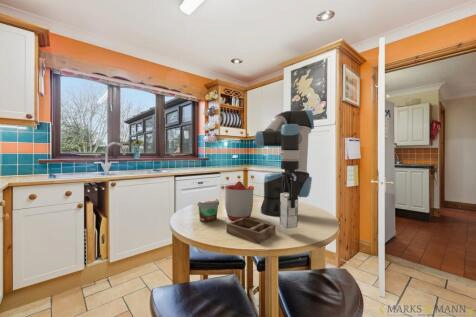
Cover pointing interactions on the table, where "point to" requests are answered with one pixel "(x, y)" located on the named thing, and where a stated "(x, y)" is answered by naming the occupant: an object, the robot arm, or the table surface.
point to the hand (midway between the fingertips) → (288, 212)
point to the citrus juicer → (238, 201)
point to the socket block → (251, 229)
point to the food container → (208, 211)
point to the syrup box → (284, 217)
